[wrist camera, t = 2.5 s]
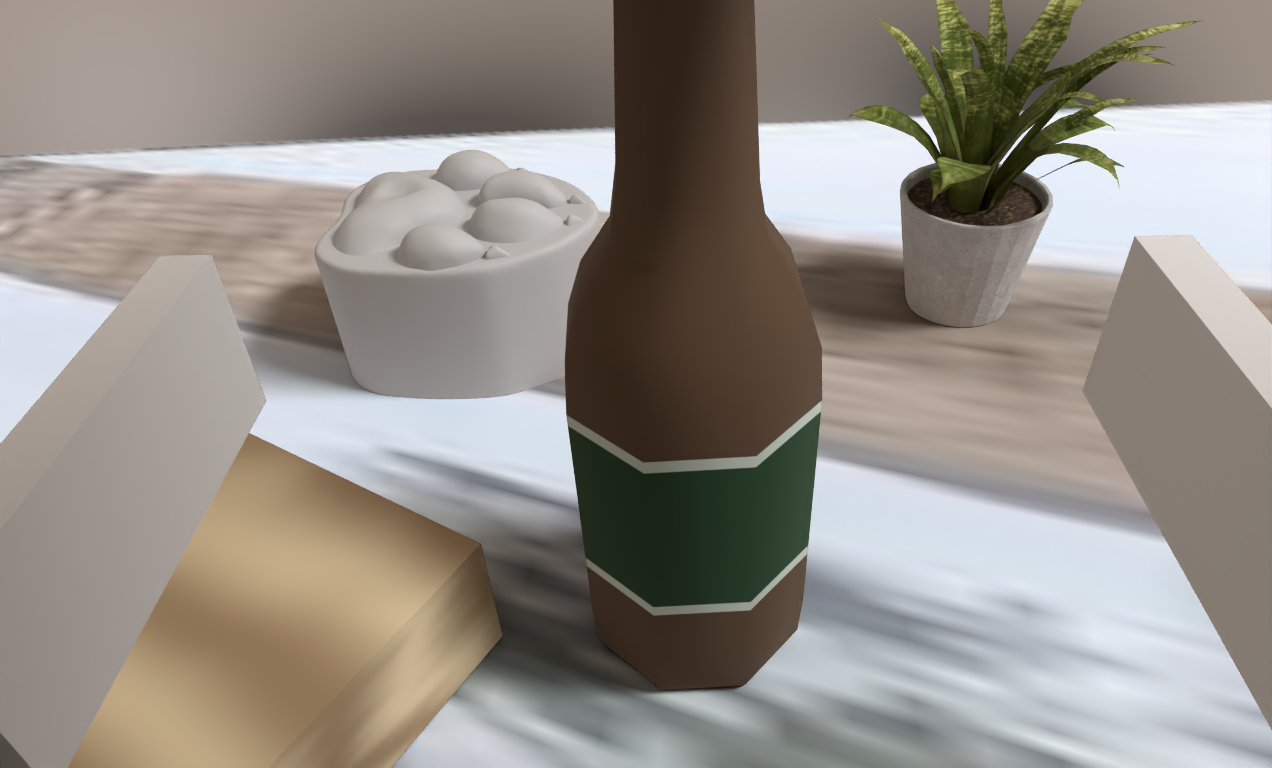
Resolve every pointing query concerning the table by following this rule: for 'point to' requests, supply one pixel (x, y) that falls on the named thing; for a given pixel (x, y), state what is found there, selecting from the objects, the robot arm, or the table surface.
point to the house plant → (990, 155)
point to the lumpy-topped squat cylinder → (456, 278)
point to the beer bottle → (691, 365)
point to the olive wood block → (298, 630)
